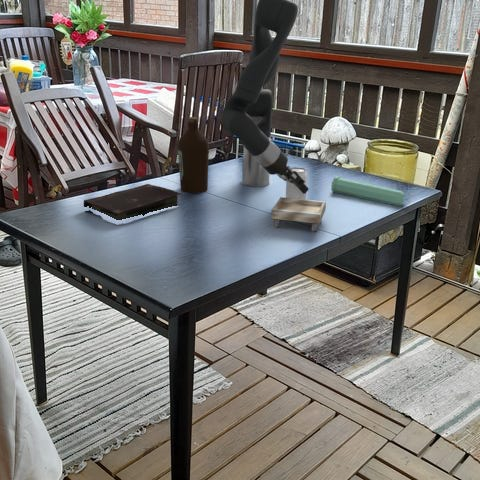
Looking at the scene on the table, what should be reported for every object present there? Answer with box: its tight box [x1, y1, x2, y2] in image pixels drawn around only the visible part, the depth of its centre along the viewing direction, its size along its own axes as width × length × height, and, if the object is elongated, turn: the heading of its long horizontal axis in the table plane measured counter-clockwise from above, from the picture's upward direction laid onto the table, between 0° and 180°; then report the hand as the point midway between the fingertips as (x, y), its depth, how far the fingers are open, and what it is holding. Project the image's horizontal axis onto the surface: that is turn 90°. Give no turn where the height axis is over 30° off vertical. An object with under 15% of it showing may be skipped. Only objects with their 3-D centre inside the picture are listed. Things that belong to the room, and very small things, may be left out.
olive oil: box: [177, 116, 210, 194], centre depth 202 cm, size 11×11×25 cm
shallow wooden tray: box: [271, 196, 327, 232], centre depth 176 cm, size 14×12×6 cm
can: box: [285, 166, 308, 200], centre depth 190 cm, size 6×6×12 cm
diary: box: [83, 183, 182, 220], centre depth 186 cm, size 19×25×5 cm
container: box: [330, 175, 406, 206], centre depth 200 cm, size 6×6×25 cm
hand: (300, 188), depth 191 cm, fingers closed on can, 6 cm apart
